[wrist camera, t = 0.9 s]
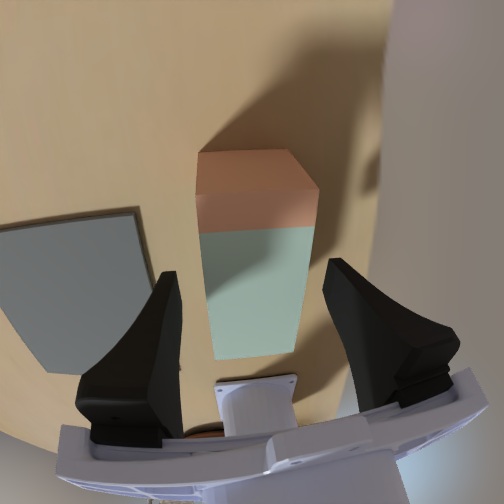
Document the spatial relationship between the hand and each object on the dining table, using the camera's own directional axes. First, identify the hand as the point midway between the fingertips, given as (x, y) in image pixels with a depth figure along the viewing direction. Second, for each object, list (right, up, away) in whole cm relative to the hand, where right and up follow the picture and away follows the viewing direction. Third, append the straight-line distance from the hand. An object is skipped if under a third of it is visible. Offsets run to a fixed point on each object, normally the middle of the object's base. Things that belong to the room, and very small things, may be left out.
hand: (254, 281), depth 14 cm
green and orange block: (-1, +2, +3) cm, 4 cm away
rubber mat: (-13, -3, +5) cm, 15 cm away
